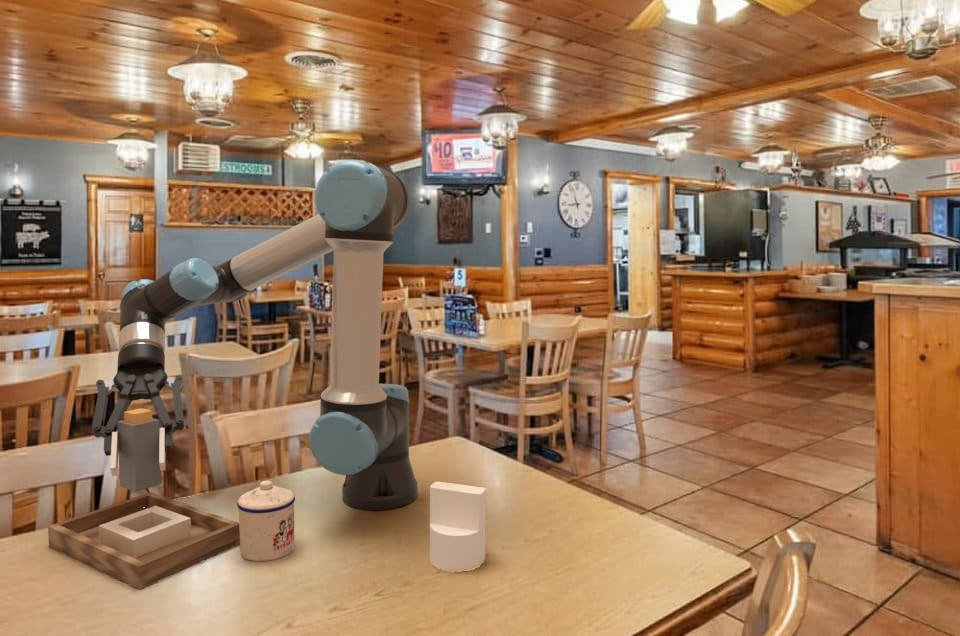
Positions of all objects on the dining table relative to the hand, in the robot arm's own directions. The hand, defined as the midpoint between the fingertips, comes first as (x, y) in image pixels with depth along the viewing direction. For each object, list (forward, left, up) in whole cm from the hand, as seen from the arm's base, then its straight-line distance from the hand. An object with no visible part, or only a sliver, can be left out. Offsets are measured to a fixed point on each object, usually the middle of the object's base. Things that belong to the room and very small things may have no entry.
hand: (138, 468), depth 105 cm
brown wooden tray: (+3, -2, -14) cm, 15 cm away
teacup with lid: (-15, -13, -14) cm, 25 cm away
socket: (+3, -2, -13) cm, 14 cm away
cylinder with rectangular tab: (-44, -26, -14) cm, 54 cm away
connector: (+3, -2, -4) cm, 5 cm away
